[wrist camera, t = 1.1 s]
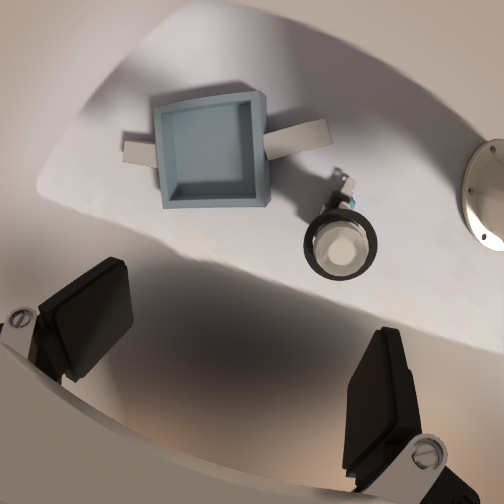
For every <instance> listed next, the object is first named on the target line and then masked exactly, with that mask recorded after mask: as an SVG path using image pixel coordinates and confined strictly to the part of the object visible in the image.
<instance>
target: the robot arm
mask: <svg viewBox="0 0 504 504" xmlns="http://www.w3.org/2000/svg"><path fill="white" fill-rule="evenodd" d="M468 190H469V191H468ZM462 207H463V214H464V217H465V220H466V224H467V226H468V228H469V230H470V232H471V233H472V234H473V236H474V237H475V239H477V240H478V241H479V242H480V243H481V244H482V245H484V246H485V247H487V248H489V249H492V250H496V251H502V250H504V139H493V140H490V141H487V142H486V143H484V144H483V145H481V146H480V147H479V148H478V149H477V150H476V151H475V153H474V154H473V156H472V158H471V159H470V161H469V163H468V166H467V168H466V171H465V175H464V179H463V186H462ZM38 308H39V311H40V314H39V315H38V316H37V313H36V311H35V310H34V309H33V308H30V307H20V308H17V309H15V310H13V311H12V312H11V313H10V314H9V315H8V316H7V318H6V320H5V323H1V324H0V504H480V499H479V496H478V494H477V493H476V492H475V491H474V490H473V489H472V488H471V487H469V486H468V485H467V484H466V483H465V482H464V481H462V480H461V479H460V478H459V477H458V476H457V475H456V474H455V473H453V472H452V471H451V470H450V469H449V468H448V467H447V466H445V464H446V462H447V456H448V453H447V449H446V446H445V445H444V443H443V442H442V441H441V440H440V439H439V438H438V437H436V436H434V435H432V434H422V429H421V421H420V415H419V408H418V402H417V396H416V391H415V386H414V380H413V375H412V372H411V370H409V369H408V366H407V362H406V357H405V353H404V348H403V344H402V341H401V336H400V332H399V330H398V329H394V328H389V327H382V328H381V330H376V331H375V333H374V335H373V337H372V339H371V341H370V343H369V345H368V347H367V349H366V351H365V353H364V355H363V357H362V359H361V361H360V363H359V365H358V367H357V368H356V370H355V372H354V374H353V376H352V378H351V380H350V382H349V384H348V389H347V413H346V429H345V443H344V453H343V465H342V467H343V469H347V470H346V477H351V478H356V480H355V484H356V487H355V488H354V489H353V490H352V491H351V492H345V491H338V490H331V489H323V488H316V487H308V486H303V485H297V484H291V483H286V482H281V481H277V480H271V479H268V478H263V477H259V476H254V475H251V474H247V473H243V472H240V471H236V470H232V469H229V468H226V467H223V466H220V465H217V464H213V463H210V462H208V461H205V460H202V459H199V458H196V457H194V456H191V455H188V454H186V453H183V452H181V451H178V450H176V449H174V448H171V447H169V446H166V445H164V444H162V443H160V442H158V441H155V440H153V439H151V438H149V437H146V436H145V435H143V434H141V433H139V432H136V431H134V430H133V429H131V428H129V427H127V426H125V425H123V424H121V423H119V422H118V421H116V420H114V419H112V418H110V417H109V416H107V415H105V414H104V413H102V412H100V411H99V410H97V409H95V408H94V407H92V406H90V405H89V404H87V403H86V402H84V401H83V400H81V399H80V398H78V397H76V396H75V395H73V394H72V393H70V392H69V391H68V390H66V389H65V388H64V387H62V386H61V384H62V375H63V374H64V373H65V375H66V377H67V378H69V379H70V380H72V381H73V382H75V383H76V382H77V381H78V379H80V378H83V377H85V376H86V374H87V373H88V372H89V371H90V370H91V369H92V368H93V367H94V366H95V365H96V364H97V363H98V361H99V360H100V359H101V358H102V357H103V356H104V355H105V354H106V353H107V352H108V351H109V350H110V349H111V348H112V347H113V345H114V344H115V343H116V342H117V341H118V340H119V339H120V338H121V337H122V336H123V335H124V334H125V333H126V332H127V331H128V330H129V328H131V326H132V325H133V321H134V318H133V313H132V305H131V297H130V289H129V280H128V270H127V266H126V265H125V263H124V261H123V260H120V259H117V258H114V257H109V258H107V259H105V260H104V261H102V262H101V263H99V264H98V265H96V266H95V267H93V268H92V269H90V270H89V271H87V272H86V273H84V274H83V275H81V276H80V277H79V278H77V279H76V280H74V281H73V282H71V283H70V284H68V285H67V286H66V287H64V288H63V289H61V290H60V291H58V292H57V293H56V294H54V295H53V296H52V297H50V298H49V299H47V300H46V301H45V302H43V303H42V304H41V305H39V306H38Z"/></svg>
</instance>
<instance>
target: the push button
mask: <svg viewBox="0 0 504 504" xmlns="http://www.w3.org/2000/svg"><path fill="white" fill-rule="evenodd" d="M350 182H351V185H348V184H349V183H350ZM355 183H356V181H355V180H354V179H352V178H349V177H347V179H346V182H345V184H344V186H342V187H341V189H340V191H338V190H337V191H335V190H334V191H333V193H332V196H331V199H330V202H329V205H328V207H325V204H323V206H322V209H321V211H320V215H319V216H318V217H317V218H315V219H314V220H313V221H312V223H311V224H310V225H309V227H308V229H307V231H306V234H305V237H304V244H303V248H304V254H305V258H306V260H307V262H308V264H309V265H310V267H311V268H312V269H313V270H314V271H315V272H316V273H318V274H319V275H321V276H322V277H324V278H327V279H330V280H336V281H344V280H350V279H353V278H355V277H357V276H359V275H361V274H362V273H364V272H365V271H366V270H367V269H368V268H369V267H370V266H371V264H372V263H373V261H374V259H375V256H376V253H377V245H378V244H377V236H376V233H375V231H374V229H373V227H372V225H371V224H370V222H369V221H368V220H367V219H366V218H365V217H364V216H362V215H361V214H359V213H358V212H355V211H353V210H352V209H353V208H354V205H355V201H354V199H353V197H351V196H352V194H353V192H352V190H353V188H354V186H355ZM357 223H358V224H359V225H361V226H362V227H363V228H364V230H365V231H366V235H365V234H364V232H363V230H362V229H361V228H359V226H358V224H357ZM366 236H367V237H366ZM313 237H315V240H314V246H313V242H312V240H313Z"/></svg>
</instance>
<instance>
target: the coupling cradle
mask: <svg viewBox="0 0 504 504" xmlns="http://www.w3.org/2000/svg"><path fill="white" fill-rule="evenodd" d="M153 111H154V126H155V139H156V142H152V141H144V140H129V141H125V143H124V152H123V162H125V163H131V164H137V165H143V166H148V167H153V168H158V171H159V180H160V188H161V196H162V204H163V209H174V208H215V207H266V206H267V205H268V203H269V202H270V201H271V185H270V163H269V161H270V160H273V159H276V158H280V157H284V156H287V155H291V154H294V153H298V152H302V151H306V150H309V149H313V148H317V147H321V146H325V145H330V144H333V142H332V138H331V135H330V132H329V129H328V126H327V122H326V119H325V118H322V119H318V120H314V121H310V122H306V123H303V124H299V125H295V126H292V127H288V128H285V129H281V130H278V131H274V132H271V133H268V125H267V107H266V96H265V95H264V94H263V93H262V92H260V91H250V92H240V93H231V94H223V95H216V96H209V97H203V98H197V99H191V100H185V101H180V102H175V103H170V104H166V105H161V106H157V107H153Z"/></svg>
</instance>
